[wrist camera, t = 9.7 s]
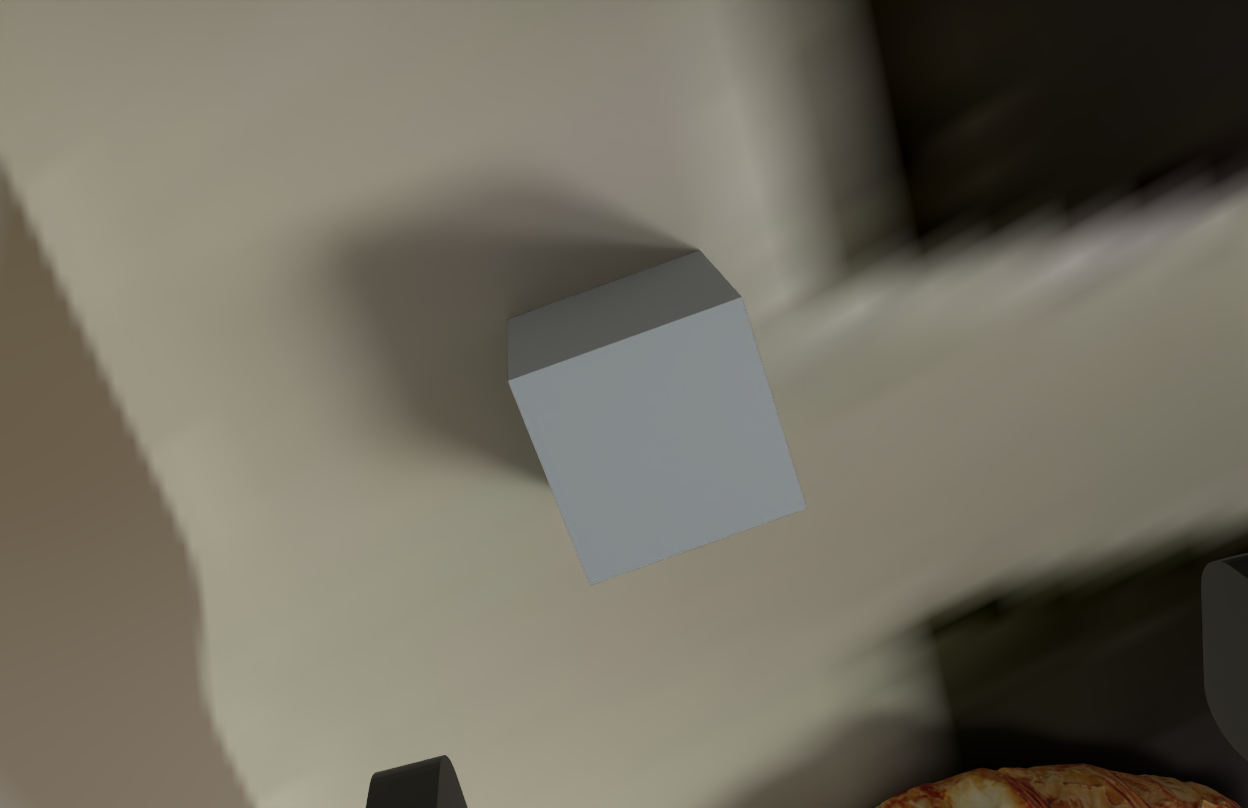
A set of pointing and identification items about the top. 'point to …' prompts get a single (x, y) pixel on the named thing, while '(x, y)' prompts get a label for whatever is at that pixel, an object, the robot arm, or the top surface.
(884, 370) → the top surface
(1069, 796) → the croissant
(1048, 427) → the top surface
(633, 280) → the grey block
